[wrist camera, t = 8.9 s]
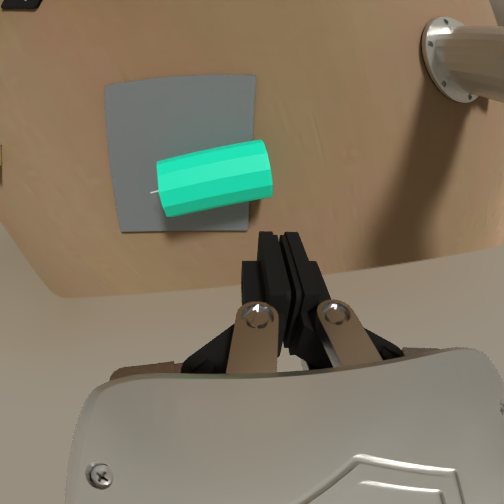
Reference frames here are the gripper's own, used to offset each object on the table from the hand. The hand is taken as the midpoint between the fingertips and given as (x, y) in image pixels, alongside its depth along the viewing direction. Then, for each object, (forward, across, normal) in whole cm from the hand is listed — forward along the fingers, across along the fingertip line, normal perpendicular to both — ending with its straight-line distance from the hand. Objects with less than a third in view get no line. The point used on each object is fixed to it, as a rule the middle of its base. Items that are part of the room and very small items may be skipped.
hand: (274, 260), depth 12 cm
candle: (+17, -2, +1) cm, 17 cm away
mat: (+20, +8, +1) cm, 21 cm away
